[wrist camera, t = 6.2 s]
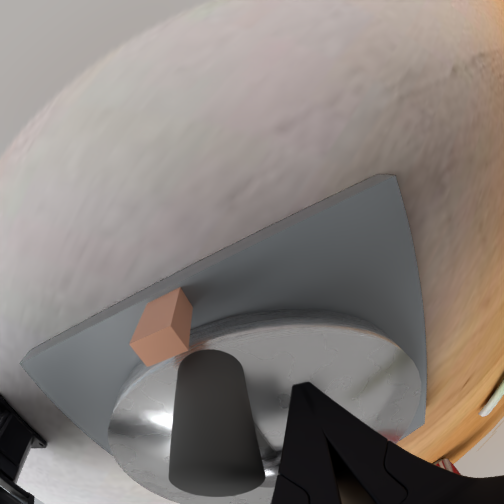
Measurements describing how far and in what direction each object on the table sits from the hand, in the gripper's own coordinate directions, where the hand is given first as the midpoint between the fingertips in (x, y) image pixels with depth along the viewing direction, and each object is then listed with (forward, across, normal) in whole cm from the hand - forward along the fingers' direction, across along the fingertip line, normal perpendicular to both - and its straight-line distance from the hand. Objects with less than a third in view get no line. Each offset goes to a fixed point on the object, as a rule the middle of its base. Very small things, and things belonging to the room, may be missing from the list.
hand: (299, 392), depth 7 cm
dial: (+4, +1, +8) cm, 9 cm away
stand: (+6, +1, +8) cm, 10 cm away
